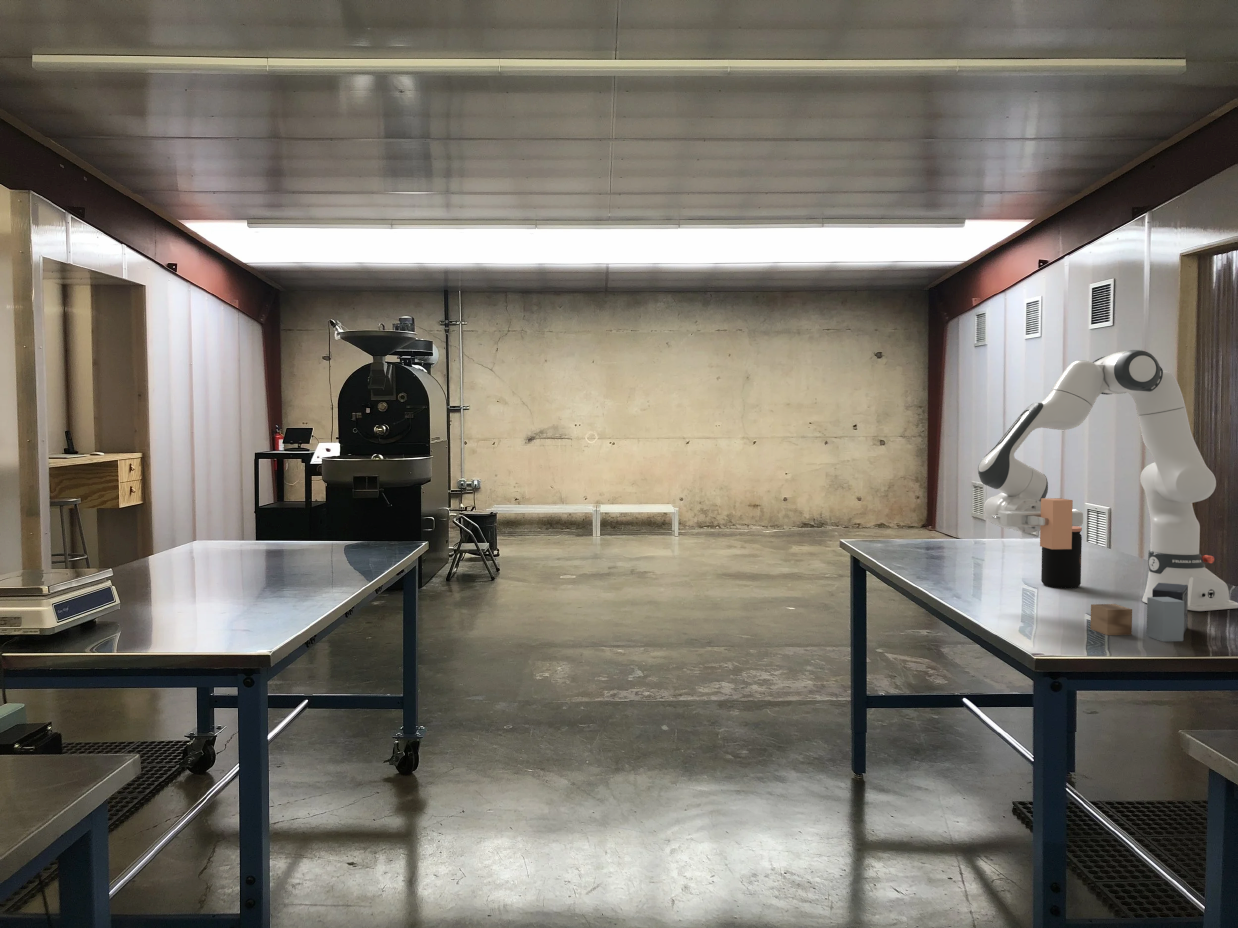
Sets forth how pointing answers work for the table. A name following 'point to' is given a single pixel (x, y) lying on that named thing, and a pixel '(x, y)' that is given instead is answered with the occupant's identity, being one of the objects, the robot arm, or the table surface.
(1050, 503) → the terracotta block
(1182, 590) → the small box
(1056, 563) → the coffee jar
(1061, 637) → the table surface
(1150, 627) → the slate block
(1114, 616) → the walnut block
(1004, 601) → the table surface
